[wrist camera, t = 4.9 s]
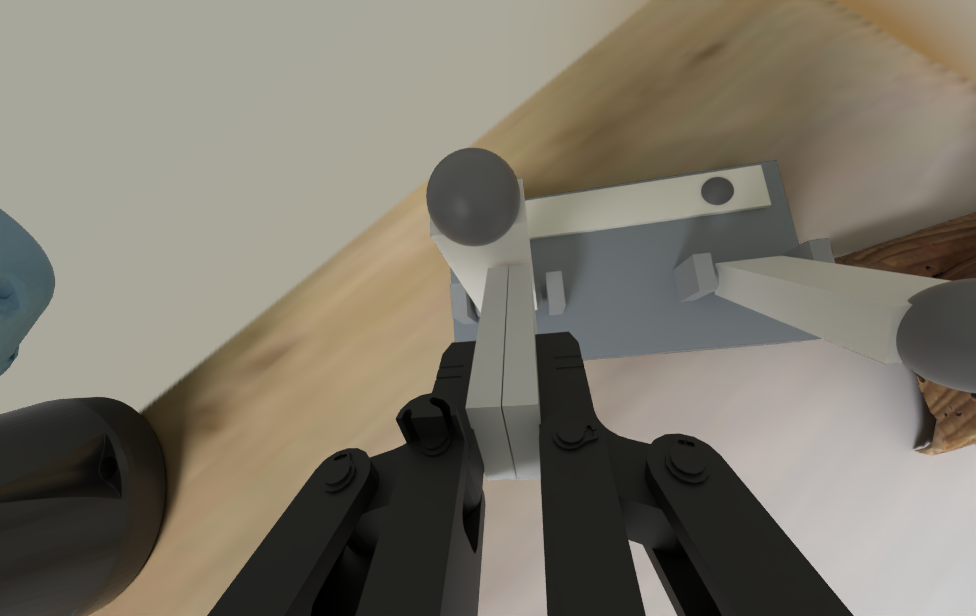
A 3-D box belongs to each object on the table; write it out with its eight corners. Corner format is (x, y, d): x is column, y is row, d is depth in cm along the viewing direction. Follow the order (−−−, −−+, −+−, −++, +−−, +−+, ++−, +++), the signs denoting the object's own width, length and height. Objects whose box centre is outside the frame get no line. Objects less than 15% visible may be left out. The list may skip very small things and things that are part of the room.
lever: (771, 294, 18) (1151, 413, 7) (699, 301, 19) (946, 423, 8) (774, 240, 18) (1195, 280, 7) (699, 250, 18) (969, 301, 7)
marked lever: (544, 324, 19) (537, 202, 8) (481, 331, 20) (396, 223, 9) (539, 278, 20) (526, 113, 9) (478, 285, 21) (399, 137, 10)
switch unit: (784, 343, 20) (871, 332, 15) (467, 370, 23) (444, 369, 18) (745, 187, 22) (810, 128, 17) (458, 229, 25) (434, 189, 20)
